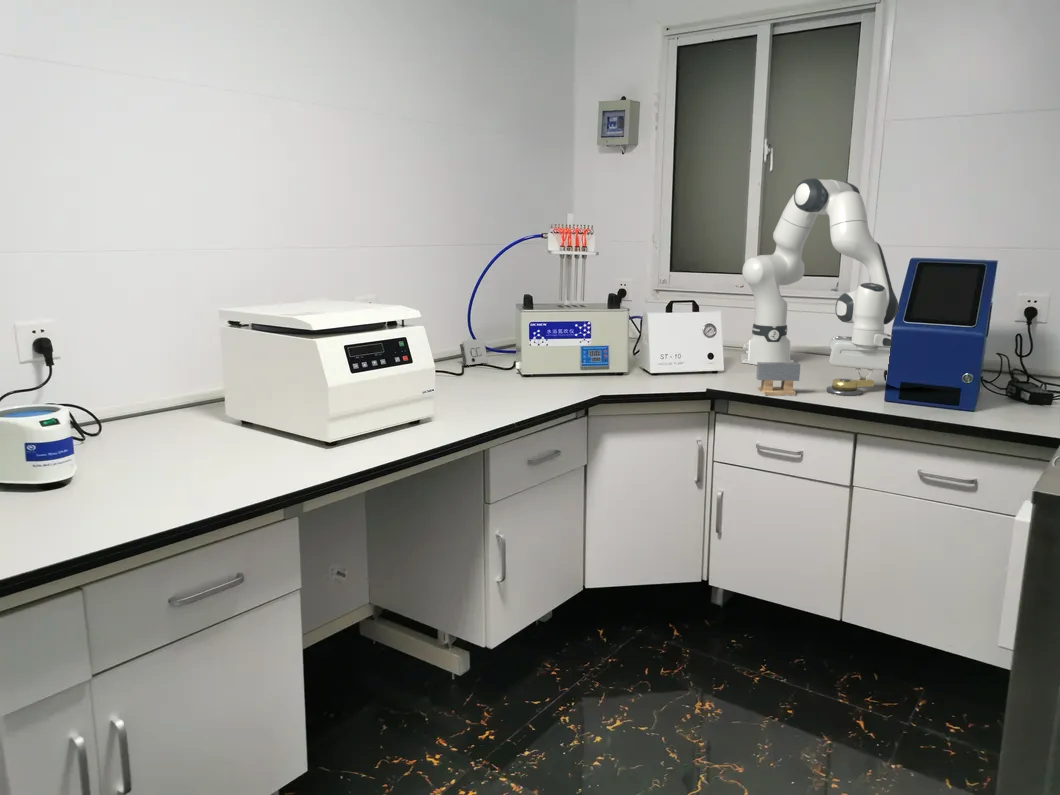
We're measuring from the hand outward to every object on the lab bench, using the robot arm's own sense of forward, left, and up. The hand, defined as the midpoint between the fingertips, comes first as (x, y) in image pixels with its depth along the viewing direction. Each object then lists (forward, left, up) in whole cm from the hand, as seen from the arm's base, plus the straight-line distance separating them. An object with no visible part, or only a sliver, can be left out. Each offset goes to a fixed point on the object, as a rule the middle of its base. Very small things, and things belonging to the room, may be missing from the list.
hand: (862, 382), depth 242 cm
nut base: (+3, -7, -2) cm, 8 cm away
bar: (+4, -27, +2) cm, 27 cm away
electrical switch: (-41, -124, -3) cm, 130 cm away
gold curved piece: (+3, -4, -1) cm, 5 cm away
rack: (+4, -27, -2) cm, 28 cm away
